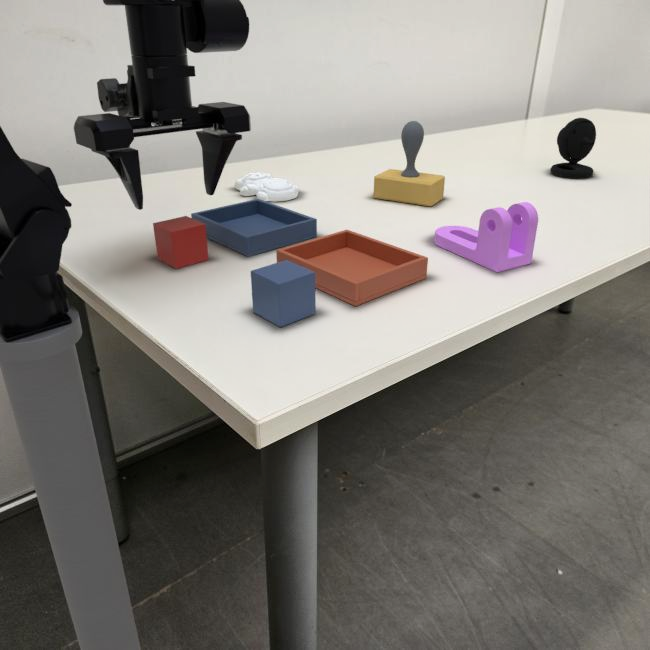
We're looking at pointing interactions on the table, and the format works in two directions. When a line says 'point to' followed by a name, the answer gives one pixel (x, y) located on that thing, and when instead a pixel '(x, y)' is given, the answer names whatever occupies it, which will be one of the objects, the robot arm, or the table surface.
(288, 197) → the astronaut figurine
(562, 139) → the webcam
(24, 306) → the robot arm
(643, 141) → the table surface
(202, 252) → the red block
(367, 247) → the terracotta tray
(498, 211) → the bracket
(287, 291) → the blue block
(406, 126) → the rubber stamp
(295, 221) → the slate tray
